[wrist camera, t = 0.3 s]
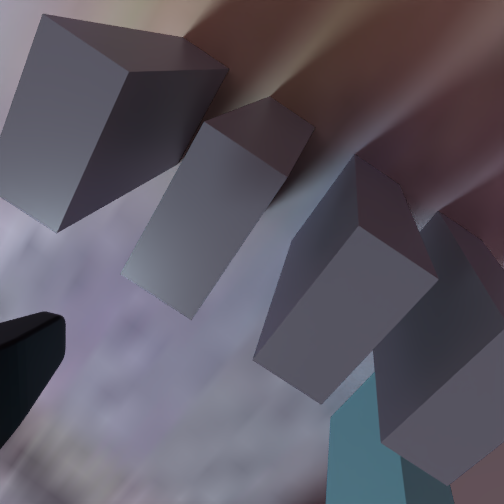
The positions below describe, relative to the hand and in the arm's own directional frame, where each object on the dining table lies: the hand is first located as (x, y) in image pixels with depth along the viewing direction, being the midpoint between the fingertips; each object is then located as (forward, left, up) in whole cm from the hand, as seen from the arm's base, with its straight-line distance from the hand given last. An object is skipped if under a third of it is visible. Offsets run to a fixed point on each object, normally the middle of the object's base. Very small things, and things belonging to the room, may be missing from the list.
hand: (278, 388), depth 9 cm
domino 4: (-3, -5, -14) cm, 15 cm away
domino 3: (-1, -1, -14) cm, 14 cm away
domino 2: (+2, +3, -14) cm, 14 cm away
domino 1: (+4, +7, -14) cm, 16 cm away
